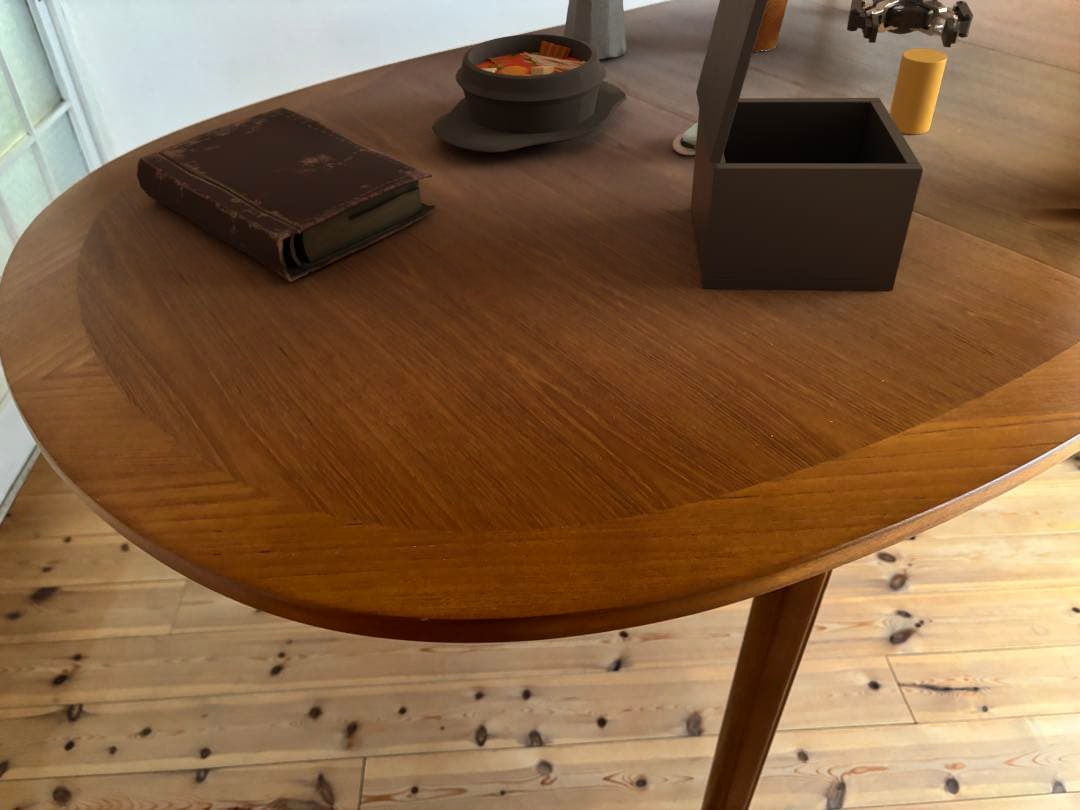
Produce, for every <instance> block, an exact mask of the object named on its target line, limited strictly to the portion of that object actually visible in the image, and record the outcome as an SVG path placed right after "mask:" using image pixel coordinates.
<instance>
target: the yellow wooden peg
mask: <svg viewBox="0 0 1080 810" xmlns="http://www.w3.org/2000/svg"><path fill="white" fill-rule="evenodd" d="M947 61H948V56H947V54H945V53H944V52H942V51H939V50H936V49H930V48H911V49H907V50H904V51H903V52H902V54H901V59H900V63H899V68H898V71H897V77H896V82H895V87H894V91H893V96H892V100H891V104H890V108H889V112H888V113H889V114H890V116H891V118H892V119H893V121H894V122H895V124H896V126H897V127H898V129H899V130H900V132H901V134H904V135H922V134H925V133H927V132H929V130H930V129H931V124H932V120H933V116H934V112H935V109H936V106H937V105H936V104H937V100H938V97H939V92H940V88H941V84H942V80H943V76H944V72H945V68H946V64H947Z"/></svg>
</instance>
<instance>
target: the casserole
mask: <svg viewBox="0 0 1080 810" xmlns="http://www.w3.org/2000/svg"><path fill="white" fill-rule="evenodd" d="M606 76H607V70H606V68H605V66H604V65H603V64H602V63H601V61H600V59H599V58H598V55H597V52H596V50H595V49H594V48H593V47H592V46H591V45H589V44H587V43H585V42H583V41H580V40H577V39H573V38H569V37H564V35H563V36H562V35H554V34H518V35H509V36H502V37H497V38H493V39H490V40H486V41H483V42H481V43H478V44H476V45H474V46H472V47H470V48H469V49H468V50H467V51H466V52H465V53H464V54H463V58H462V62H461V66H460V67H459V68H458V70H457V71H456V74H455V82H456V83H457V84H458V86H459V87H460V88H461V89H462V91H463V96H464V97H463V98H461V99H460V100H459V102H457V104H455V105H454V107H452V109H451V110H450V111H448V112H447V113H445V114H444V115H442V116H440V117H439V118H437V120H435V121H434V122H433V124H432V126H431V130H432V132H433V134H434V135H435V136H437V137H438V138H439V140H442V141H443V142H445V143H447V144H449V145H451V146H455V147H458V148H461V149H464V150H470V151H475V152H480V153H489V154H497V153H507V152H512V151H517V150H520V149H524V148H527V147H532V146H538V145H547V144H553V143H560V142H565V141H570V140H573V139H577V138H581V137H583V136H586V135H588V134H590V133H593V132H595V131H596V130H598V129H601V127H603V126H604V125H605V124H606V123H608V122H609V120H610V119H611V117H612V115H613V114H614V112H615V110H616V109H618V107H619V106H621V105H622V103H624V102H625V101H626V100H627V93H625V92H624V91H623V89H621V88H620V87H619V86H616V85H614V84H613V83H610V82H607V81H604V80H605V78H606Z"/></svg>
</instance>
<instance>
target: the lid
mask: <svg viewBox="0 0 1080 810" xmlns="http://www.w3.org/2000/svg"><path fill="white" fill-rule="evenodd" d="M767 2H768V0H719V3H718V6H717V10H716V12H715V13H716V14H715V17H714V21H713V25H712V28H711V29H712V30H711V33H710V37H709V41H708V43H707V44H708V45H707V49H706V52H705V55H704V60H703V64H702V68H701V70H700V75H699V79H698V83H697V86H696V90H695V93H696V99H697V103H698V110H699V109H700V114H701V119H702V124H703V129H704V134H705V139H706V144H707V149H708V154H709V159H710V162H716V163H720V162H721V159H722V156H723V152H724V149H725V145H726V142H727V139H728V135H729V132H730V128H731V125H732V121H733V118H734V115H735V111H736V108H737V104H738V101H739V98H741V95H742V90H743V87H744V84H745V80H746V77H747V75H748V74H747V73H748V70H749V67H750V63H751V60H752V57H753V53H754V52H753V50H754V46H755V43H756V39H757V36H758V33H759V29H760V26H761V22H762V19H763V16H764V12H765V9H766V5H767Z"/></svg>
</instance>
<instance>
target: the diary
mask: <svg viewBox="0 0 1080 810" xmlns="http://www.w3.org/2000/svg"><path fill="white" fill-rule="evenodd" d="M136 169H137V170H136V177H137V181H138V183H139V187H140V188H141V189H142V191H143V192H144V193H145V194H146V196H148V197H149V198H150V199H152V200H154V201H155V202H157V203H159V204H161V205H163V206H165V207H166V208H168V209H171V211H174V212H176V213H178V214H179V215H181V216H183V217H184V218H186V219H187V220H188V221H191V222H192V223H194V224H195V225H197V226H198V227H200V228H201V229H202V230H204V231H206V232H207V233H209V234H210V235H212V236H213V237H215V238H216V239H219V240H220V241H222V242H224V243H226V244H228V245H230V246H232V247H233V248H234V249H237V250H239V251H241V252H243V253H244V254H246V255H248V256H249V257H251V258H253V259H254V260H256V261H257V262H259V263H260V264H262V265H263V266H265V267H266V268H267V269H269V270H270V271H272V272H273V273H275V274H276V275H278V276H280V277H281V278H283V279H285V280H286V281H288V282H290V283H292V282H294V281H296V280H298V279H300V278H302V277H305V276H306V275H308V274H309V272H310V273H314V272H315V271H317V270H319V269H321V268H323V267H325V266H328V265H330V264H332V263H334V262H336V261H338V260H340V259H343V258H345V257H347V256H349V255H352V254H353V253H355V252H357V251H359V250H362V249H364V248H366V247H369V246H370V245H372V244H375V243H376V242H378V241H381V240H383V239H385V238H387V237H389V236H392V235H393V234H395V233H398V232H399V231H402V230H403V229H405V228H407V227H409V226H411V225H412V224H414V223H416V222H418V221H420V220H422V219H424V218H425V217H427V216H429V215H430V214H431V213H432V212H433V211H434V210H435V208H436V205H434V204H433V205H432V204H431V205H428V204H425V203H423V202H422V198H421V188H420V181H421V180H423V179H429V178H432V177H433V174H432V173H430V172H428V171H425V170H423V169H421V168H418V167H416V166H414V165H411V164H409V163H407V162H404V161H402V160H399V159H397V158H394V157H392V156H390V155H388V154H385V153H383V152H381V151H379V150H376V149H373V148H371V147H368V146H367V145H364V144H362V143H359V142H357V141H355V140H353V139H351V138H349V137H347V136H345V135H344V134H342V133H340V132H338V131H336V130H334V129H332V128H331V127H329V126H327V125H325V124H323V123H321V122H319V121H317V120H315V119H312V118H311V117H308V116H305V115H303V114H301V113H298V112H295V111H293V110H291V109H288V108H287V107H283V106H281V107H277V108H275V109H271V110H268V111H265V112H261V113H258V114H255V115H253V116H250V117H247V118H243V119H241V120H237V121H235V122H231V123H229V124H225V125H223V126H220V127H217V128H213V129H211V130H208V131H206V132H204V133H201V134H198V135H196V136H194V137H191V138H188V139H186V140H183V141H180V142H177V143H176V144H173V145H171V146H169V147H166V148H164V149H162V150H159V151H158V152H153V153H150V154H148V155H144V156H142V157H139V158H138V161H137V166H136Z"/></svg>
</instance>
